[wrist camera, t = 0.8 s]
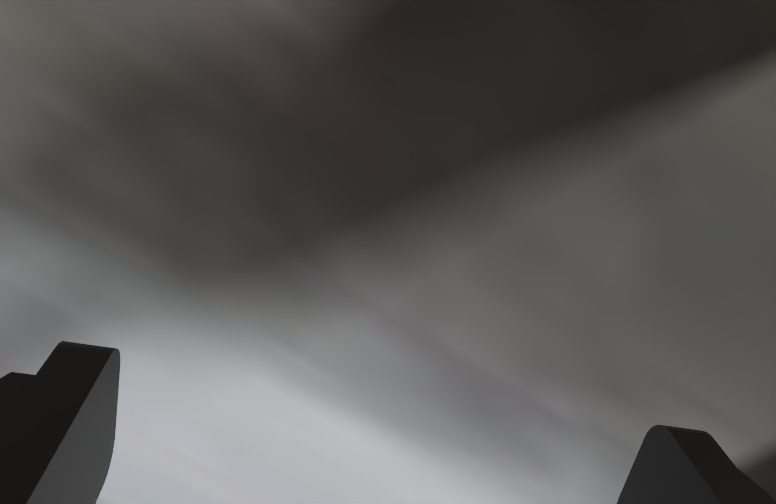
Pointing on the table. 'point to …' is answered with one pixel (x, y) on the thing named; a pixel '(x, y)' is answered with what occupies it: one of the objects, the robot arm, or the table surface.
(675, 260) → the table surface
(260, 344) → the table surface
